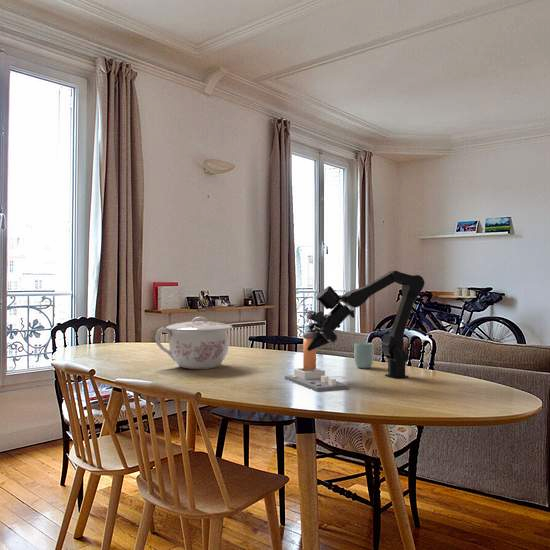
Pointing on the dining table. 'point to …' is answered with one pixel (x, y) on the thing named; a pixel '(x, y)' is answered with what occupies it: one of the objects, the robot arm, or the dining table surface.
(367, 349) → the cup
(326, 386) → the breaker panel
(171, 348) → the chamber pot
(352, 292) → the robot arm
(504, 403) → the dining table surface
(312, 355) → the capped spray can
